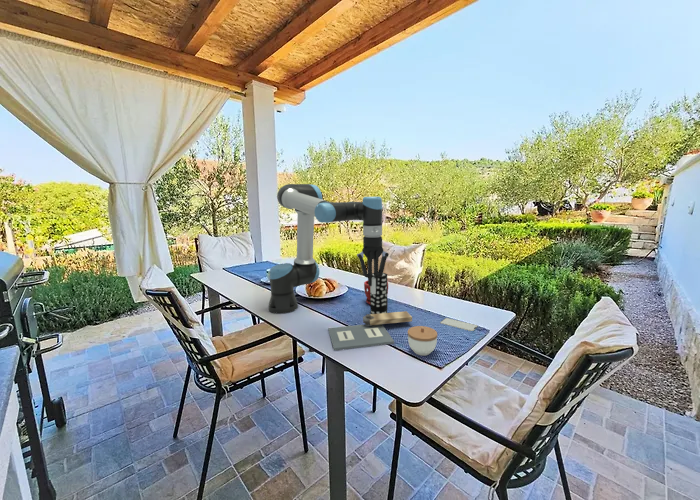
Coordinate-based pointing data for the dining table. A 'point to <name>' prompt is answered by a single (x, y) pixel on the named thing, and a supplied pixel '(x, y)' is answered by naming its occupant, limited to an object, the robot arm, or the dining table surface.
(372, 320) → the swing arm
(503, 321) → the dining table surface
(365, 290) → the plant pot
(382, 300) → the spotted tube
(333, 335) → the label panel
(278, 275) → the robot arm
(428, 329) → the lidded jar
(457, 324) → the smartphone
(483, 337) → the dining table surface
